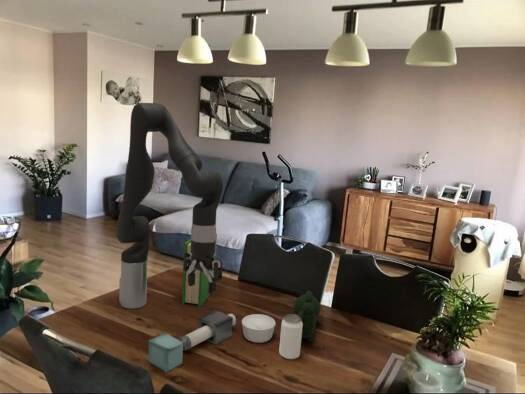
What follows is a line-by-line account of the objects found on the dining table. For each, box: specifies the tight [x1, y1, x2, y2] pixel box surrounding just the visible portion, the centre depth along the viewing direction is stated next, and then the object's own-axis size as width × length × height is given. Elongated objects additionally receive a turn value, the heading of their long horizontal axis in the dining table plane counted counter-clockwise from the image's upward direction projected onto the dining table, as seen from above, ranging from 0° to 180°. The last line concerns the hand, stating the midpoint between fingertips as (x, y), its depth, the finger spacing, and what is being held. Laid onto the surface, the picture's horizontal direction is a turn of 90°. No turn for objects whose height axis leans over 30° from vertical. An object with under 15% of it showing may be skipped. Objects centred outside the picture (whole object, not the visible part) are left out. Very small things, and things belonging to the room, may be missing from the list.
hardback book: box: [181, 233, 218, 308], centre depth 165 cm, size 18×7×24 cm, turn 170°
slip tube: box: [178, 313, 237, 351], centre depth 135 cm, size 4×22×4 cm, turn 143°
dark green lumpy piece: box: [293, 290, 321, 342], centre depth 144 cm, size 9×19×25 cm
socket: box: [147, 332, 184, 373], centre depth 120 cm, size 8×6×6 cm
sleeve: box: [198, 309, 234, 346], centre depth 137 cm, size 8×8×6 cm
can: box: [278, 313, 303, 360], centre depth 129 cm, size 6×6×12 cm
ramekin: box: [241, 313, 276, 344], centre depth 139 cm, size 11×11×5 cm
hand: (201, 289), depth 129 cm, fingers open, 8 cm apart
